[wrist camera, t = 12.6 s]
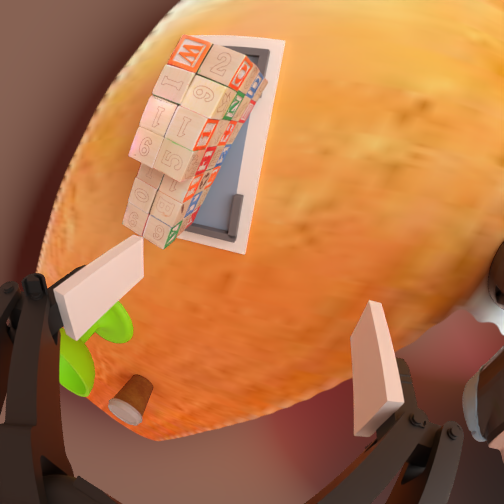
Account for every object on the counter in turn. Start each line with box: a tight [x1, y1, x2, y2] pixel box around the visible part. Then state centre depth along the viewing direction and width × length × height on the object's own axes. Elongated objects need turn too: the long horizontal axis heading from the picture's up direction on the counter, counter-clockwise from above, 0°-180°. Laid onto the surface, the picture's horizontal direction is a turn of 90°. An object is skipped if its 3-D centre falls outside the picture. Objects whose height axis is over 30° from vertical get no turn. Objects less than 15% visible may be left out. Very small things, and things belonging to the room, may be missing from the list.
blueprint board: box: [176, 35, 285, 255], centre depth 33 cm, size 14×30×2 cm, turn 170°
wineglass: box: [59, 301, 133, 397], centre depth 46 cm, size 16×16×18 cm
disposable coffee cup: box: [108, 375, 153, 425], centre depth 57 cm, size 10×10×12 cm
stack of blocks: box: [122, 35, 268, 250], centre depth 27 cm, size 21×6×12 cm, turn 152°
